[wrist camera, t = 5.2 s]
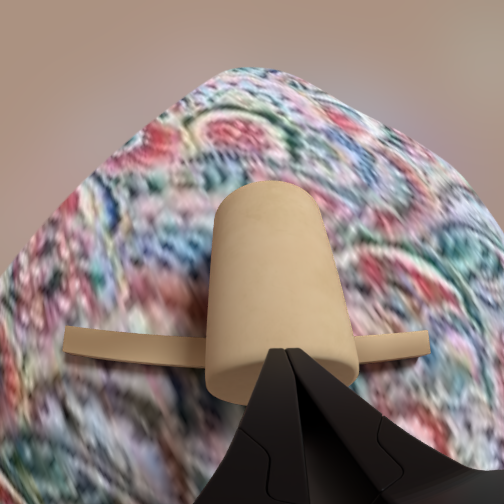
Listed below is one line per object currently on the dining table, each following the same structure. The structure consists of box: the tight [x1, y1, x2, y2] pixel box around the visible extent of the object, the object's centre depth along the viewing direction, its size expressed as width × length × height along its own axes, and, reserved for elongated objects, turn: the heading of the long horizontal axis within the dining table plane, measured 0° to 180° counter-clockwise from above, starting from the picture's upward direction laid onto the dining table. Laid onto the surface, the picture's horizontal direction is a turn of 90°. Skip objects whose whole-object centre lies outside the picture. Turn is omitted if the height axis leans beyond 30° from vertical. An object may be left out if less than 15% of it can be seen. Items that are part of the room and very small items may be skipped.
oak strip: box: [63, 326, 430, 368], centre depth 15 cm, size 1×20×1 cm, turn 90°
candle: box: [205, 181, 359, 406], centre depth 14 cm, size 6×6×10 cm
